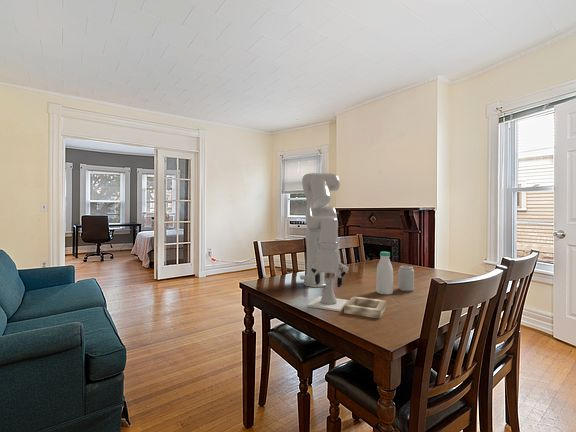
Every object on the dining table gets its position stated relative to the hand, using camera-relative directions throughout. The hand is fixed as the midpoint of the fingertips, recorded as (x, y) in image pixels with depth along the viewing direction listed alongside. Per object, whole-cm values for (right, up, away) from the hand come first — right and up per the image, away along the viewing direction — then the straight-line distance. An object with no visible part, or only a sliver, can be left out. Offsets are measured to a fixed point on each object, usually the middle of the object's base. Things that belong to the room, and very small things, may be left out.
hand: (328, 285), depth 134 cm
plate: (0, -8, 0) cm, 8 cm away
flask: (0, -8, 0) cm, 8 cm away
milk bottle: (+30, -8, +18) cm, 35 cm away
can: (+42, -8, +23) cm, 49 cm away
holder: (+14, -8, -8) cm, 18 cm away
